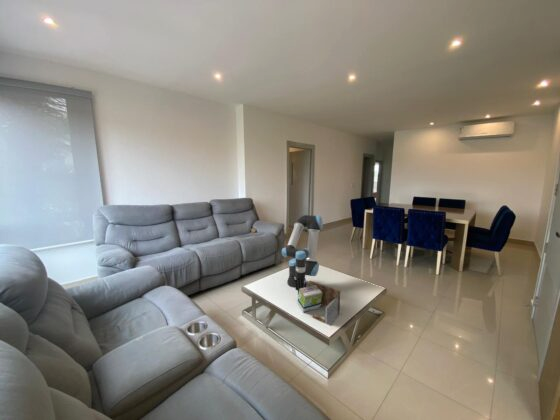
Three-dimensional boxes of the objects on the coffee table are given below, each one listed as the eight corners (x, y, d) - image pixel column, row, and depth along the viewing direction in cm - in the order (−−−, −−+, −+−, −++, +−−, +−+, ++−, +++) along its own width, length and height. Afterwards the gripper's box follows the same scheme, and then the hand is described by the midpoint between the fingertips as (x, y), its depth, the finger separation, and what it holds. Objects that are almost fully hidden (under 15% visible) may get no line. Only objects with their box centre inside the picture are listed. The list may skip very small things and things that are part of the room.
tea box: (303, 313, 169) (305, 297, 163) (296, 303, 177) (298, 288, 172) (320, 308, 175) (323, 292, 169) (313, 299, 183) (315, 283, 178)
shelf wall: (296, 310, 172) (296, 290, 169) (309, 298, 187) (309, 280, 184) (327, 324, 156) (328, 303, 153) (339, 310, 171) (340, 290, 168)
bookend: (325, 323, 157) (325, 307, 155) (336, 310, 171) (337, 295, 169) (330, 325, 155) (330, 309, 153) (341, 312, 169) (342, 297, 167)
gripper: (290, 270, 177) (290, 298, 181) (304, 275, 169) (304, 304, 173) (296, 267, 183) (296, 294, 187) (310, 271, 175) (309, 300, 179)
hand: (300, 299), depth 180 cm, fingers closed
